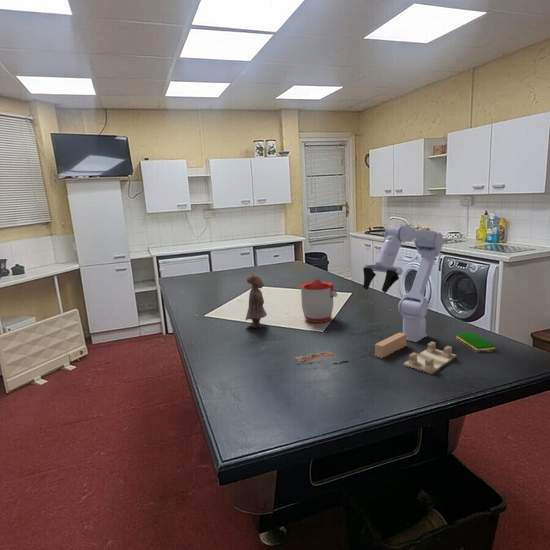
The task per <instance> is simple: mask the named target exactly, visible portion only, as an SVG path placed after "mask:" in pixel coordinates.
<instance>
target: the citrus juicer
mask: <svg viewBox="0 0 550 550" xmlns="http://www.w3.org/2000/svg"><path fill="white" fill-rule="evenodd" d="M299 286H300V294H301V295H300V296H301V308H302V312H303V316H304V318H305V320H306V321H307V322H309V321H310V323H325V322H327V321H329V320H331V318H332V313H333V310H334V298H337V297H338V293H337V292H336V291H334V283H332V282H330V281H329V282H328V281H322V280H319V278H316V279H314V280H313V281H309V282H304V283H301V284H300V285H299Z"/></svg>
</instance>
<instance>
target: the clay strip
mask: <svg viewBox="0 0 550 550" xmlns="http://www.w3.org/2000/svg"><path fill="white" fill-rule="evenodd" d="M404 346H405V347H407V340H406V334H404V333H403V332H397V333H395V334H393V335H391V336H389V337H387V338H384V339H382V340H381V341H379V342H377V343H375V344H374V357H375V356H377V357H376V358H378V357H380V358H379V359H381V358H382V359H384V358H386V357H388V356H390V355H392V354H394V353H395V352H394V351H396V350H397V351H399V350H401V349H403V348H405V347H404ZM402 347H403V348H402ZM400 348H401V349H400ZM398 349H399V350H398ZM397 351H396V352H397ZM393 352H394V353H393ZM391 353H392V354H391ZM389 354H390V355H389ZM387 355H388V356H387ZM385 356H386V357H385ZM383 357H384V358H383Z"/></svg>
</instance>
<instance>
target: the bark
mask: <svg viewBox="0 0 550 550" xmlns="http://www.w3.org/2000/svg"><path fill="white" fill-rule="evenodd" d="M321 354H322V355H323V356H327V357H326V358H328V356H329V355H330V356H335V355H336V353H334V352H332V351H321V352H316V353H315V352H314V353H310V354H309V353H308V354H305V355H299V356H295V357H294V358H296V359H298V361H299V359H300V361H301V360H304V361H301V362H302V363H304V362H306V361H307V359H308V360H309V359H310V358H311V360H309V361H310V362H309V361H308V362H306V363H311V362H315V361H314V360H318V361H319V360H320V359H321V358H320V359H317V357H319V356H320V355H321ZM332 354H334V355H332ZM320 357H321V356H320ZM335 357H336V356H335ZM304 358H305V359H304ZM321 360H322V359H321ZM321 360H320V361H321ZM298 361H297V362H298ZM316 362H317V361H316ZM317 363H318V362H317ZM336 363H337V362H336ZM338 364H339V362H338V363H337V364H336V365H338Z"/></svg>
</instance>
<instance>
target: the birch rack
mask: <svg viewBox="0 0 550 550" xmlns="http://www.w3.org/2000/svg"><path fill="white" fill-rule="evenodd" d="M436 346H437V345H436V342H435V341H430V342H428V343H427V348H426V349H424V350H423V351H421V352H419V353H416V352H412V353H409V355H408V359H407V361H405V362H404V363H403V366H404V365H405V366H404V367H406V366H408V367H407V368H409V367H411V368H410V369H412V368H415V369H417V370H416V371H418V370H420V371H419V372H421V371H423V372H422V373H424V372H427V373H430V374H432V373H433V374H435V373H436V372H437V371H436V370H438V369H439V368H440V367H442V366H443V365H445V364H446V363H448V362H449V361H450V362H452V361H453V360H454V359H453V358H455V357H456V358H457V354H455V353H452V349H453V348H452V346H449V345H446V346H445V347H444V348H443V350H440V349H437V348H436ZM456 358H455V359H456ZM452 359H453V360H452ZM451 360H452V361H451ZM450 362H449V363H450ZM449 363H448V364H449ZM446 365H447V364H446ZM446 365H445V366H446ZM443 367H444V366H443ZM443 367H442V368H443ZM415 369H414V370H415ZM439 370H440V369H439ZM439 370H438V371H439ZM435 371H436V372H435ZM434 372H435V373H434ZM427 373H426V374H427ZM430 374H429V375H430ZM433 374H432V375H433Z"/></svg>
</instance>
